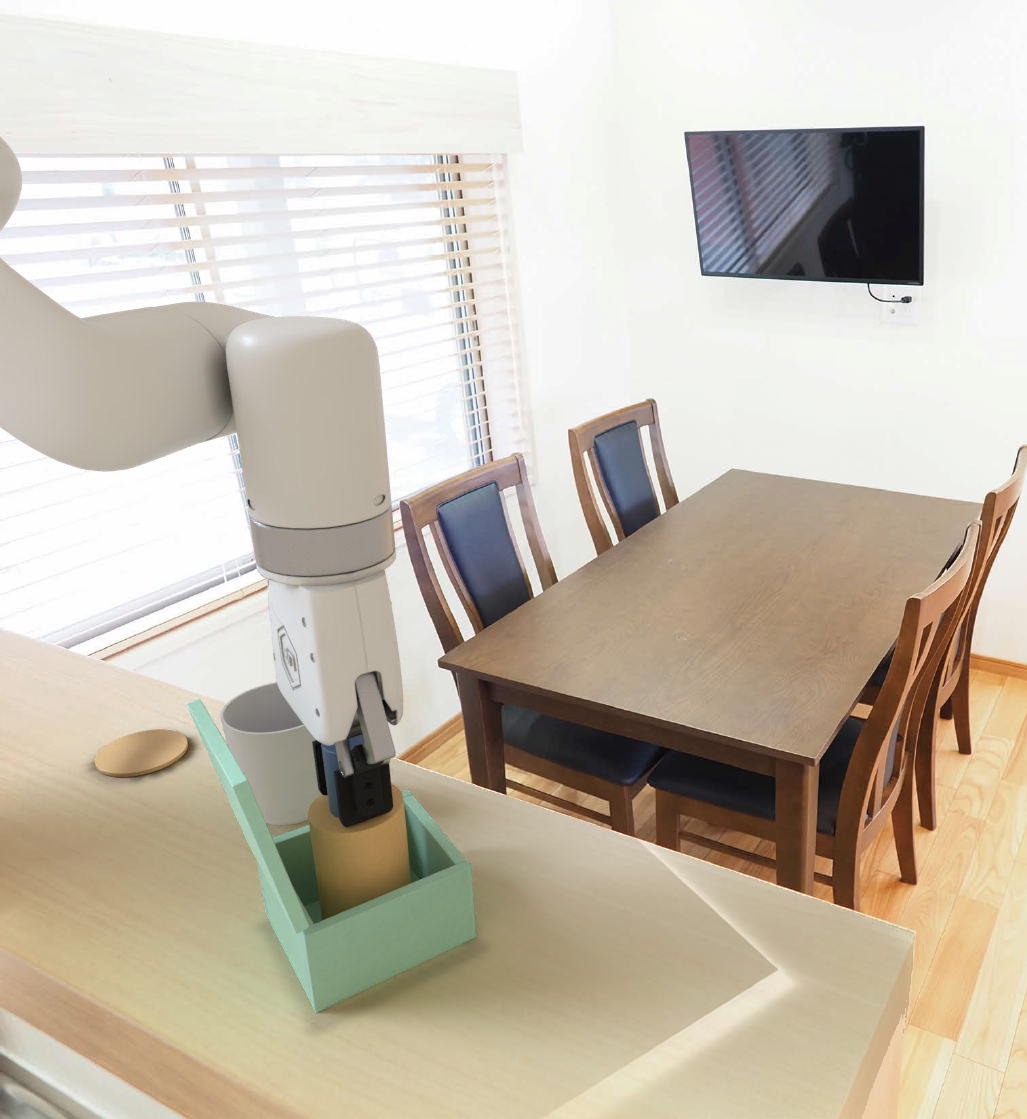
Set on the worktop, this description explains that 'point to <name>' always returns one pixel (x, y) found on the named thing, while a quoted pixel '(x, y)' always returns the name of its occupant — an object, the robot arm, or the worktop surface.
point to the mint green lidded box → (374, 914)
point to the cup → (272, 753)
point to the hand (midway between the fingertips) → (355, 799)
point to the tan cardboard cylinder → (356, 847)
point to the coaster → (141, 753)
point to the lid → (248, 815)
